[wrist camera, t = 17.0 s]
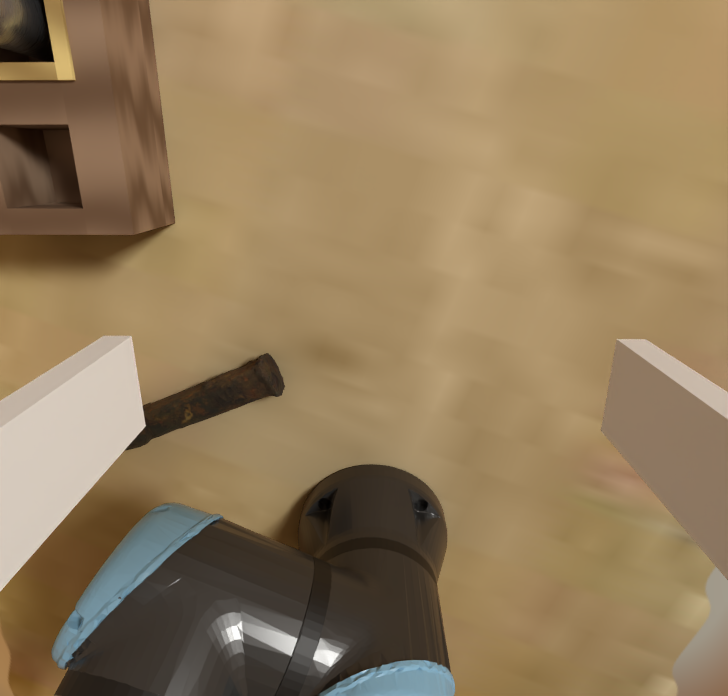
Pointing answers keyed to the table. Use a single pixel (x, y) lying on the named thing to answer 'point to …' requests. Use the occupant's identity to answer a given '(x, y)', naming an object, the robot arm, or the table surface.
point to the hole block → (85, 127)
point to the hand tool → (211, 398)
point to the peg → (25, 29)
